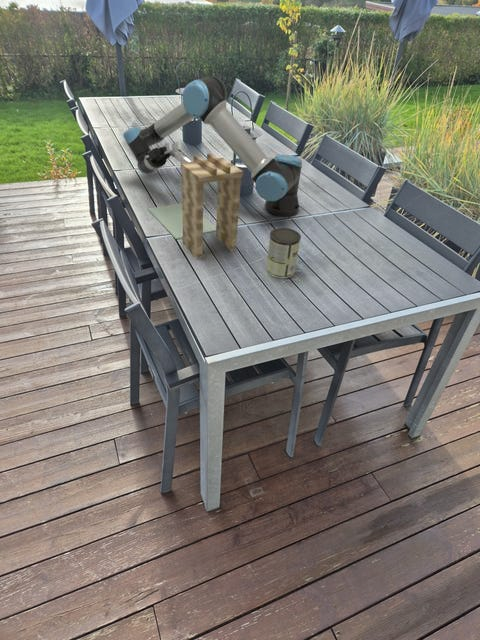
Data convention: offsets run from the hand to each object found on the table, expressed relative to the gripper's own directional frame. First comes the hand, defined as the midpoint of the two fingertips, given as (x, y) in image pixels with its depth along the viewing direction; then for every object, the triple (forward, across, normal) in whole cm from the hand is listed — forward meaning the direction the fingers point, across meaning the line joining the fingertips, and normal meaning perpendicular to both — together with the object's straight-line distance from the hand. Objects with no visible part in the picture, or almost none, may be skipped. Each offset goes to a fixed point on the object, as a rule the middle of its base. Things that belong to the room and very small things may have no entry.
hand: (174, 145), depth 165 cm
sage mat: (-9, 0, -27) cm, 29 cm away
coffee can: (+33, -15, -51) cm, 63 cm away
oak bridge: (+12, 0, -39) cm, 41 cm away
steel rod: (+2, 0, -6) cm, 6 cm away
